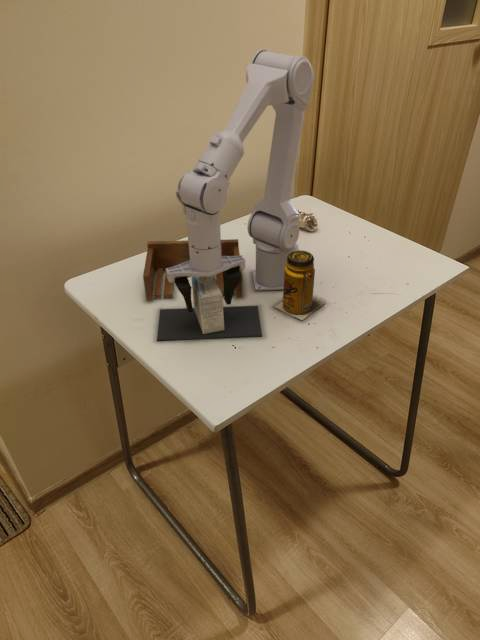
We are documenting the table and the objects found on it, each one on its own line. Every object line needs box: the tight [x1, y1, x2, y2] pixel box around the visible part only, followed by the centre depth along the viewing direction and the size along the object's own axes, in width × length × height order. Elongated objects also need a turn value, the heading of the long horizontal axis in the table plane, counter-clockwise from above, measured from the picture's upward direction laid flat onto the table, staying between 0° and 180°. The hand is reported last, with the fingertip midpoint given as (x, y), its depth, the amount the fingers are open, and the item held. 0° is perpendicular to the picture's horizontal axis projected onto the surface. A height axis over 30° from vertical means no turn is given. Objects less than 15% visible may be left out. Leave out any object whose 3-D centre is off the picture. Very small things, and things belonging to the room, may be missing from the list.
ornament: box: [297, 209, 319, 232], centre depth 132 cm, size 8×7×4 cm
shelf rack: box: [142, 238, 243, 302], centre depth 108 cm, size 20×13×7 cm, turn 96°
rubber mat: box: [156, 305, 263, 342], centre depth 99 cm, size 20×10×1 cm, turn 96°
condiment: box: [274, 249, 327, 321], centre depth 101 cm, size 7×8×12 cm
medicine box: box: [191, 275, 224, 334], centre depth 96 cm, size 8×4×9 cm, turn 18°
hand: (208, 305), depth 97 cm, fingers open, 7 cm apart
